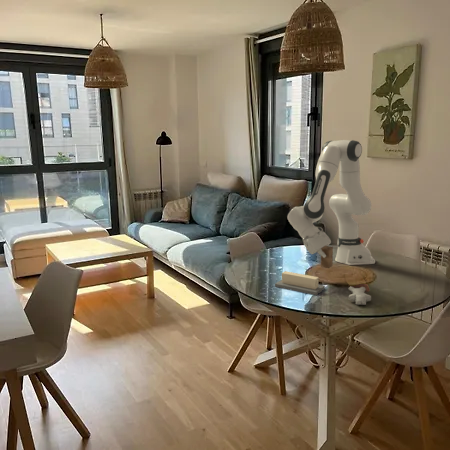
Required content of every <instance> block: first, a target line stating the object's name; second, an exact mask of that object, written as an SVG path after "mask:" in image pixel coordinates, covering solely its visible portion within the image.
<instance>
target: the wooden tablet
mask: <svg viewBox="0 0 450 450" xmlns="http://www.w3.org/2000/svg"><path fill="white" fill-rule="evenodd" d="M351 287H354V288H360V287H365V289H366V291H364V293H369V292H370V287H369V285H368V283H367V284H359V285H356V286H351Z"/></svg>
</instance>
